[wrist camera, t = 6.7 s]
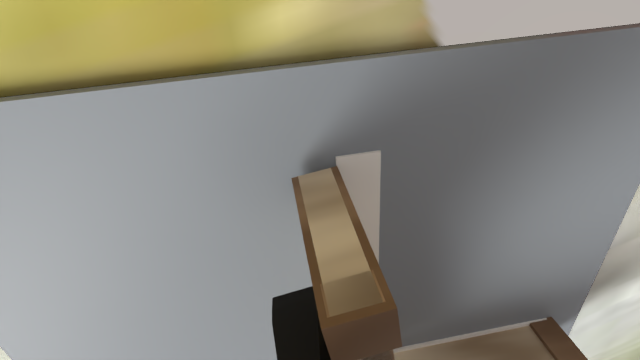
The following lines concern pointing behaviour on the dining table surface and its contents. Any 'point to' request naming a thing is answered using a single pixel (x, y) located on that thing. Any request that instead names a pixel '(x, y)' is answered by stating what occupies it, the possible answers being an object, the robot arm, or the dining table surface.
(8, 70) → the dining table surface
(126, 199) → the card
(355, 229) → the post
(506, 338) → the fixed fence section
